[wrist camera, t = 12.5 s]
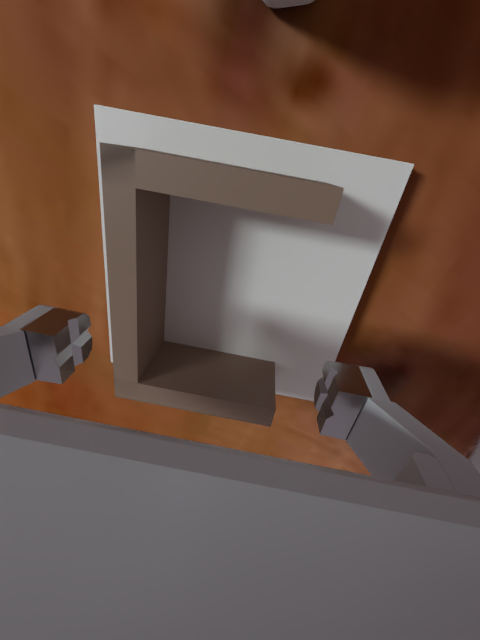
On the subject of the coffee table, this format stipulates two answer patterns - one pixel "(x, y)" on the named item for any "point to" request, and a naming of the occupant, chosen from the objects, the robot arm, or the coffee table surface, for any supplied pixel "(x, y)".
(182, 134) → the u rest
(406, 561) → the robot arm
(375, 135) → the coffee table surface
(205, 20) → the coffee table surface
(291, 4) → the eye dropper bottle
